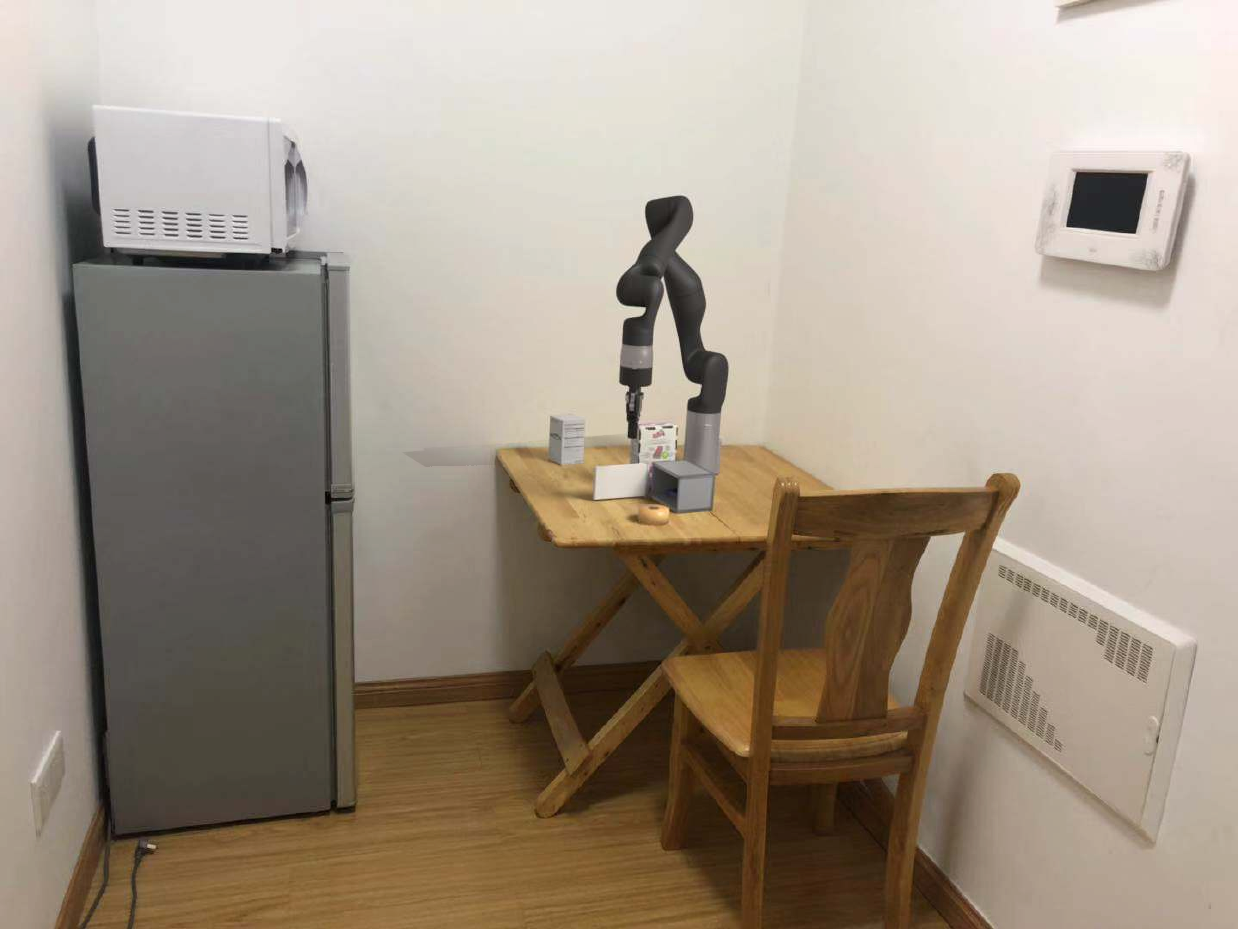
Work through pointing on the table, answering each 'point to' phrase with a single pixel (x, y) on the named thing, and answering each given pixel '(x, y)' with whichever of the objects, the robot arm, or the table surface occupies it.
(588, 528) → the table surface
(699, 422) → the robot arm
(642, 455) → the candy bar box
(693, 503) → the box
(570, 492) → the table surface
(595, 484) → the cover
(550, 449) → the supplement box
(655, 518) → the tan donut
